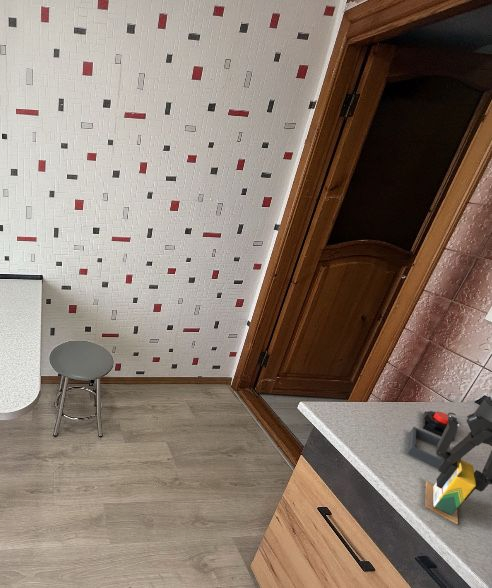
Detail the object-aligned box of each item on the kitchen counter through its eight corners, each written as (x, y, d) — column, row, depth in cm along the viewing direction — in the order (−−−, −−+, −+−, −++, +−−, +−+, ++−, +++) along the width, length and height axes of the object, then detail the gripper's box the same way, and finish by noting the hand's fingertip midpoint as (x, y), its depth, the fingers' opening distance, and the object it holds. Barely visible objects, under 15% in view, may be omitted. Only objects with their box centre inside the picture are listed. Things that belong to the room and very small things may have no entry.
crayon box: (452, 517, 71) (481, 479, 66) (432, 506, 73) (460, 469, 68) (450, 495, 76) (478, 459, 71) (432, 486, 78) (458, 450, 73)
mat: (455, 497, 76) (456, 496, 76) (457, 524, 70) (458, 523, 70) (425, 482, 79) (426, 481, 79) (425, 506, 73) (426, 505, 73)
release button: (432, 414, 98) (435, 409, 98) (449, 421, 96) (453, 416, 95) (432, 419, 96) (435, 415, 95) (450, 427, 94) (453, 422, 93)
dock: (444, 449, 89) (449, 442, 88) (445, 472, 82) (451, 465, 81) (409, 433, 94) (413, 426, 93) (407, 453, 87) (412, 446, 86)
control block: (422, 413, 102) (427, 406, 101) (451, 425, 98) (457, 418, 97) (421, 428, 96) (426, 420, 95) (453, 442, 92) (458, 434, 91)
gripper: (457, 393, 66) (401, 474, 75) (592, 444, 56) (508, 530, 65) (455, 378, 71) (403, 456, 80) (579, 422, 61) (502, 505, 70)
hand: (450, 489), depth 73 cm, fingers closed on crayon box, 3 cm apart
